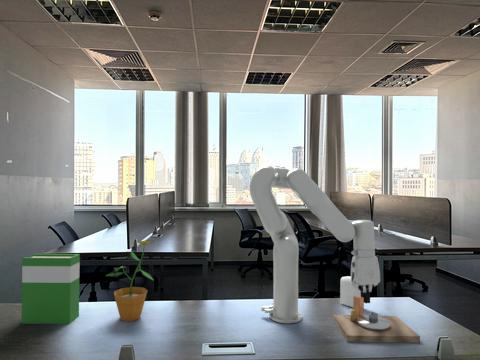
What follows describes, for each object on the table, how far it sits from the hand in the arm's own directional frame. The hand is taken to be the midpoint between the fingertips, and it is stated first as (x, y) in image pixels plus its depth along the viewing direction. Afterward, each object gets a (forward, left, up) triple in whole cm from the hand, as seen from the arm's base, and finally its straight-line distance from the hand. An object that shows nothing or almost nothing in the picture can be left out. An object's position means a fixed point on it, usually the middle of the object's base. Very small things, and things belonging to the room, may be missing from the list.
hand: (365, 302), depth 132 cm
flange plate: (0, -5, -6) cm, 8 cm away
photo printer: (+1, +19, -8) cm, 20 cm away
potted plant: (-89, +3, -8) cm, 90 cm away
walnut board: (+1, -6, -8) cm, 10 cm away
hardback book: (-118, 0, -8) cm, 119 cm away
